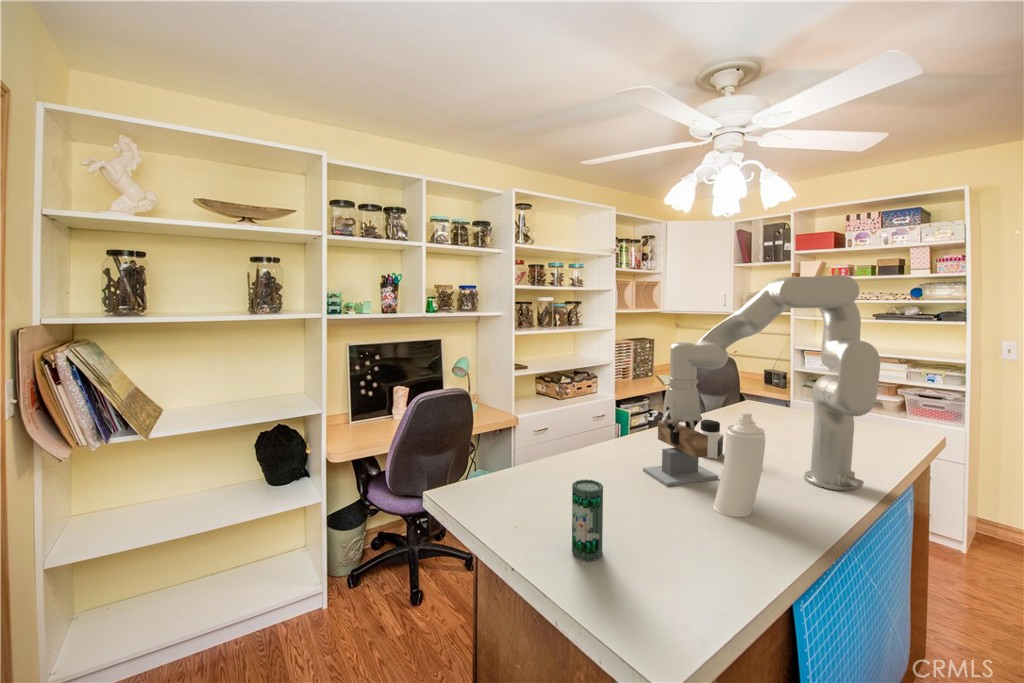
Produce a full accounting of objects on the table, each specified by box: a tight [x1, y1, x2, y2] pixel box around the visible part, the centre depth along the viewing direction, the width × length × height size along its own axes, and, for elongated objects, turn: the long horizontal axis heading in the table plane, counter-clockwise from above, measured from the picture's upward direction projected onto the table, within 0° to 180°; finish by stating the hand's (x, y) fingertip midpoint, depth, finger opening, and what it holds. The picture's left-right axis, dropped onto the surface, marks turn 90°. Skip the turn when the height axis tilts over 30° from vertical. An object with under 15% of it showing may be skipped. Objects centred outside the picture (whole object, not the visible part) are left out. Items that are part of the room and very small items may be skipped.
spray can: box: [712, 412, 766, 518], centre depth 115 cm, size 12×11×25 cm
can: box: [571, 478, 604, 562], centre depth 96 cm, size 6×6×15 cm
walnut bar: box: [657, 419, 708, 459], centre depth 137 cm, size 18×4×6 cm, turn 17°
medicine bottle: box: [700, 418, 724, 460], centre depth 155 cm, size 7×7×12 cm
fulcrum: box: [642, 447, 719, 487], centre depth 138 cm, size 12×18×8 cm, turn 107°
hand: (681, 442), depth 137 cm, fingers closed on walnut bar, 4 cm apart
